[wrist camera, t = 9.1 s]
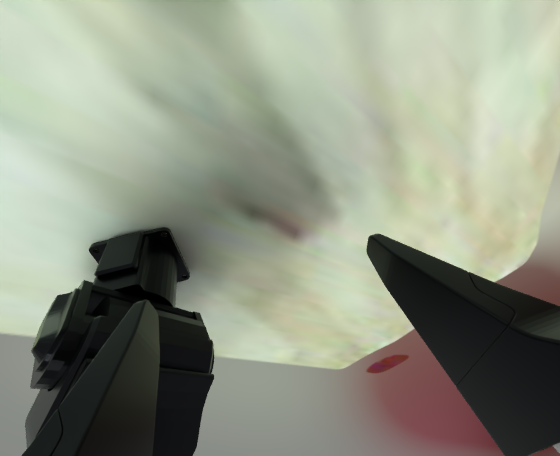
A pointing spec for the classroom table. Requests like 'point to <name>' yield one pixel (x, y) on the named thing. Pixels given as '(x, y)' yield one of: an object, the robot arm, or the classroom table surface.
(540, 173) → the classroom table surface
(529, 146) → the classroom table surface
